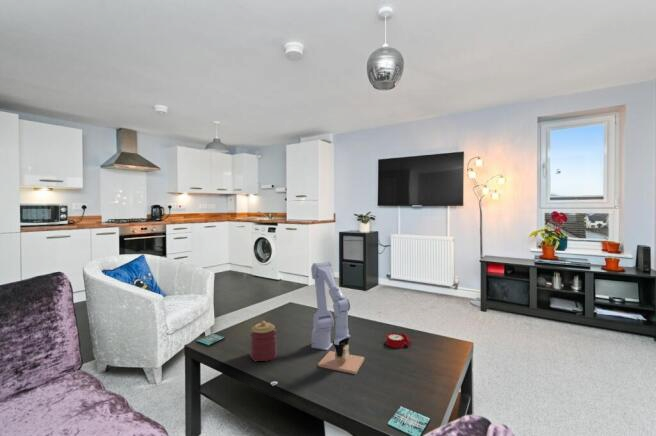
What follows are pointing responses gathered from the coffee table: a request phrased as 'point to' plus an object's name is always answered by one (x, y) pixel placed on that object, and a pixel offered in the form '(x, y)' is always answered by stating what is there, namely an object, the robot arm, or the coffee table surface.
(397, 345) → the alarm clock
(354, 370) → the terracotta tile
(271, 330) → the canister
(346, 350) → the maple cube
